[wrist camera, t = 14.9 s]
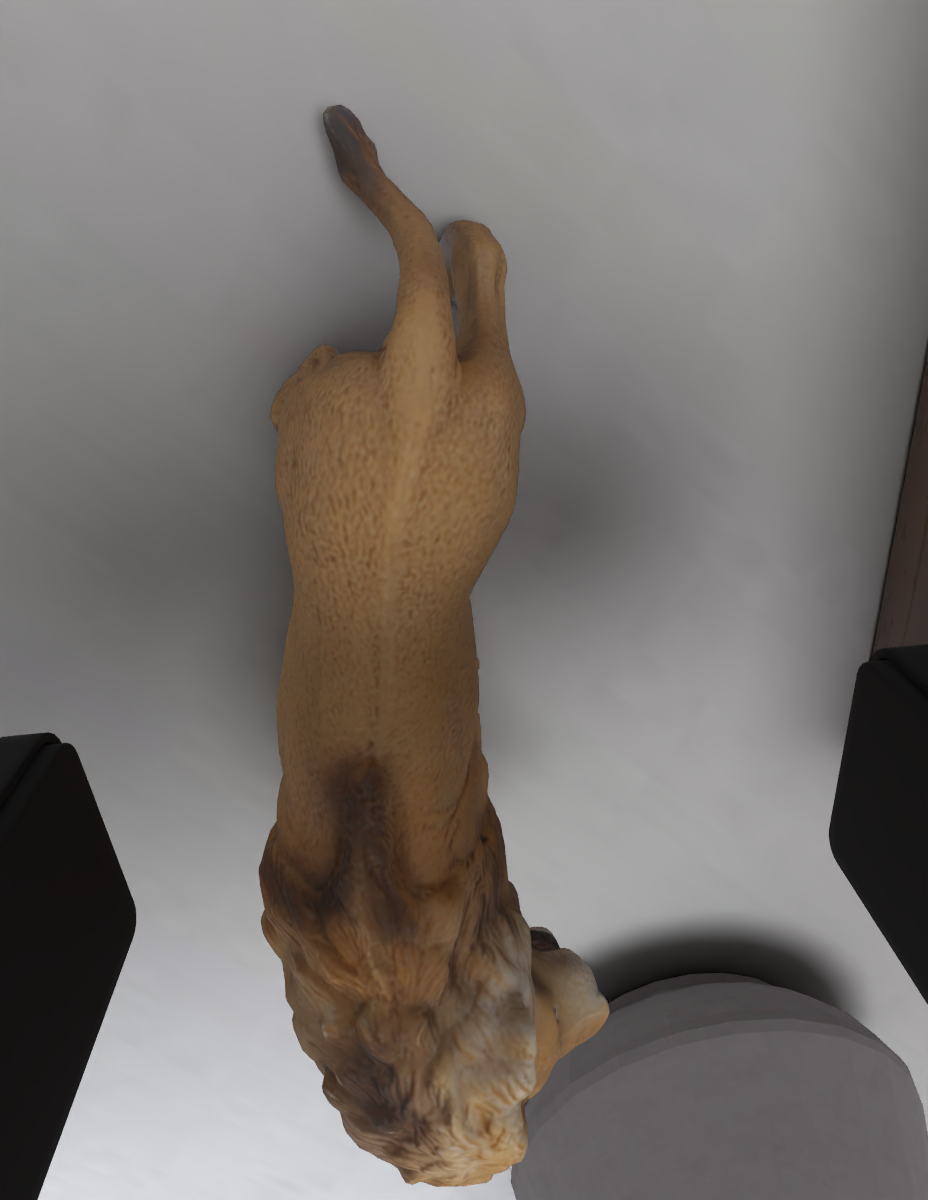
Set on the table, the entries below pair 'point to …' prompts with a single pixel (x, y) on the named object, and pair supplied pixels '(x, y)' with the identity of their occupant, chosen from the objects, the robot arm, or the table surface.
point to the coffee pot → (725, 1103)
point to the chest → (909, 549)
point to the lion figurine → (406, 723)
